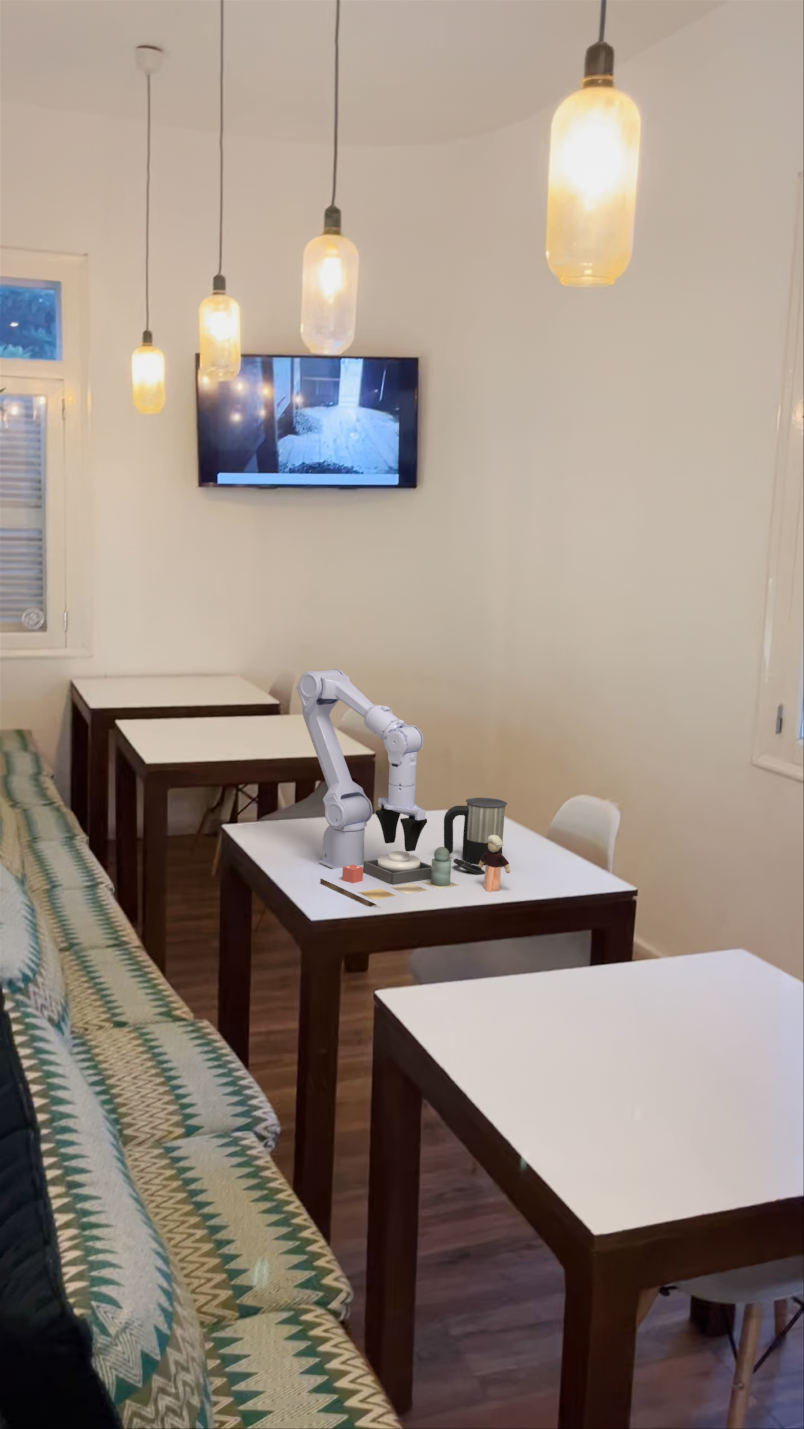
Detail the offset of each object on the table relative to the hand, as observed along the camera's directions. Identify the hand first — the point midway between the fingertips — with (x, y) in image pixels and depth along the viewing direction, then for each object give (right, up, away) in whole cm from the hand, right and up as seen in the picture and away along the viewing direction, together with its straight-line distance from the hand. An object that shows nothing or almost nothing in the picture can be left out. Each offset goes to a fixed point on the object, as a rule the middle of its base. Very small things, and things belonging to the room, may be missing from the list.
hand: (399, 846), depth 252 cm
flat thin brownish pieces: (-2, -8, -4) cm, 9 cm away
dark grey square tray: (0, -7, +1) cm, 7 cm away
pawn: (+8, -7, -5) cm, 12 cm away
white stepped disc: (0, -4, +1) cm, 4 cm away
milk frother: (+17, -7, +12) cm, 22 cm away
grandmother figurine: (+19, -9, -7) cm, 22 cm away
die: (-10, -8, -5) cm, 13 cm away
